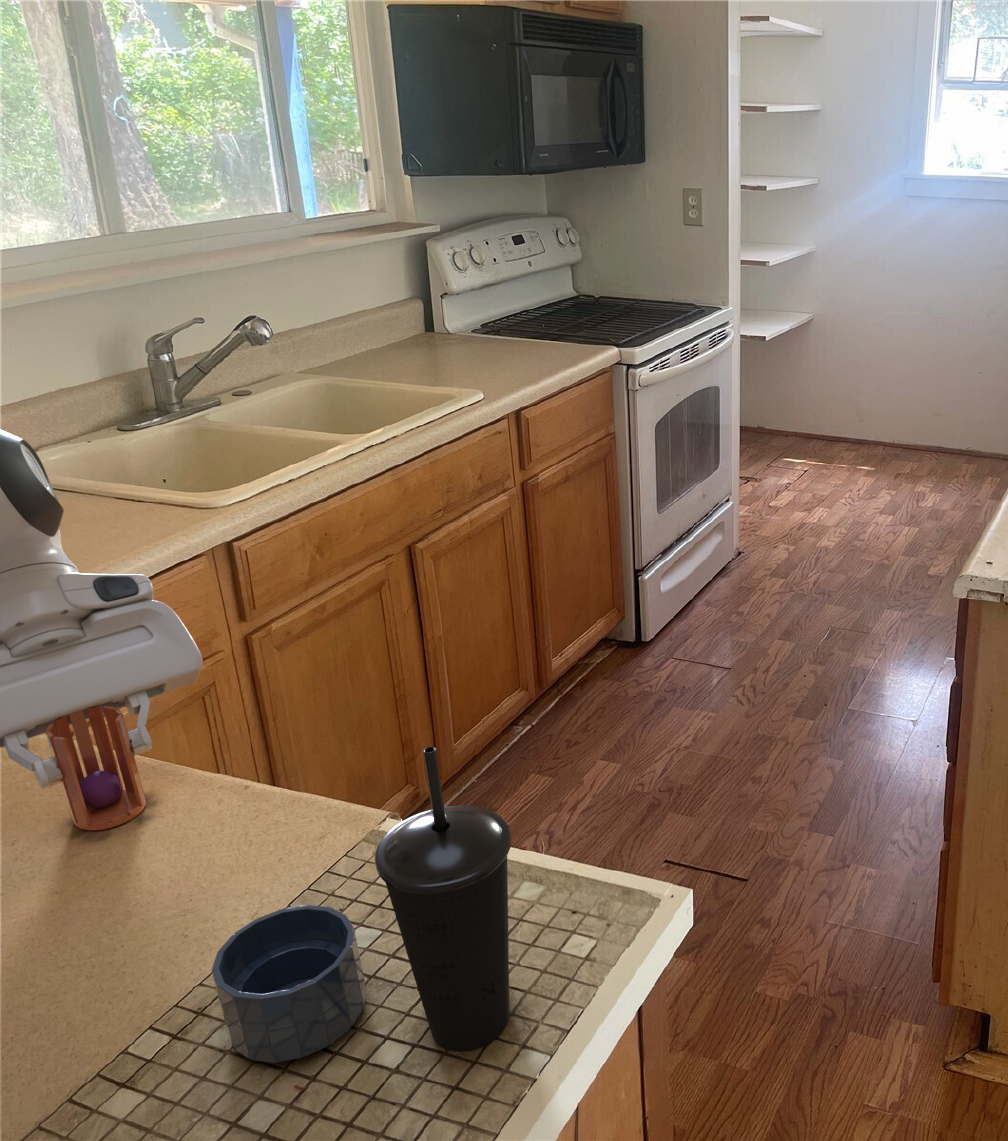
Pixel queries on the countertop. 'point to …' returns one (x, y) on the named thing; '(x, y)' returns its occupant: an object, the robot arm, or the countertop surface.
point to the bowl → (290, 983)
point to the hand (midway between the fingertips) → (99, 766)
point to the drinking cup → (453, 913)
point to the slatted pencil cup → (96, 765)
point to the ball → (100, 789)
